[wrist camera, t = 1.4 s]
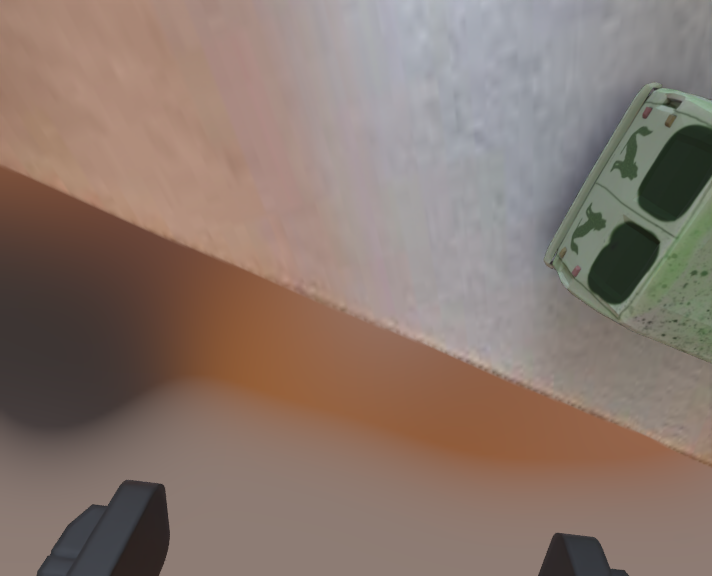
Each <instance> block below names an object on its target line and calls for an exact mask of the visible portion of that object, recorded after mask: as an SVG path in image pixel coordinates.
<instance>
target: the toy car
mask: <svg viewBox="0 0 712 576" xmlns="http://www.w3.org/2000/svg"><path fill="white" fill-rule="evenodd" d="M653 87H654V90H656V91H654V92H652V93H651V94H650V95H649V93H650V91H651V90H652V88H653ZM648 95H649V96H648ZM647 96H648V97H647ZM556 251H557V254H556V256H555V258H554V260H553V261H551V260H552V258H553V256H554V255H555V253H556ZM550 261H551V262H550ZM544 262H545V264H546V265H547V266H548V267H550V268H552V269H553V268H554V269H555V270H557V272H558V275H559V277H560V280H561V283H562V284H563V285H564V286H565V287H566V288H567V290H568V291H569V292H570V293H571V294H572V295H574V296H575V297H577V298H578V299H580V300H581V301H582V302H584V303H585V304H587V305H588V306H590V307H591V308H593V309H594V310H596V311H597V312H599V313H600V314H602V315H604V316H606V317H608V318H610V319H612V320H613V321H615V322H617V323H619V324H620V325H622V326H624V327H626V328H627V329H629V330H631V331H633V332H636V333H638V334H641V335H643V336H646V337H648V338H651V339H653V340H655V341H658V342H660V343H663V344H665V345H668V346H670V347H673V348H675V349H678V350H680V351H683V352H685V353H687V354H690V355H692V356H695V357H697V358H700V359H702V360H705V361H707V362H710V363H712V101H711V100H708V99H705V98H703V97H700V96H697V95H693V94H689V93H684V92H681V91H678V90H672V89H666V88H662V84H659V83H656V82H654V83H650V84H647V85H645V86H644V87H643V88H641V90H640V91H639V93H638V94H637V95H636V97H635V98H634V99H633V101H632V103H631V104H630V106H629V108H628V109H627V111H626V113H625V115H624V116H623V118H622V120H621V121H620V123H619V125H618V126H617V128H616V130H615V131H614V133H613V135H612V136H611V138H610V140H609V142H608V143H607V145H606V147H605V148H604V150H603V152H602V153H601V155H600V157H599V158H598V160H597V162H596V163H595V165H594V167H593V168H592V170H591V172H590V174H589V175H588V177H587V179H586V180H585V182H584V184H583V186H582V188H581V189H580V191H579V193H578V195H577V197H576V198H575V200H574V202H573V204H572V206H571V207H570V209H569V211H568V213H567V214H566V216H565V218H564V220H563V222H562V223H561V225H560V227H559V229H558V231H557V232H556V234H555V236H554V238H553V240H552V241H551V243H550V245H549V247H548V250H547V252H546V255H545V258H544Z"/></svg>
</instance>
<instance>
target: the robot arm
mask: <svg viewBox="0 0 712 576" xmlns="http://www.w3.org/2000/svg"><path fill="white" fill-rule="evenodd" d="M169 539H170V530H169V521H168V512H167V503H166V493H165V487H164V485H162V484H158V483H150V482H142V481H133V480H125V481H124V482H123V483H122V484H121V485H120V486H119V488H118V490H117V491H116V493H115V494H114V496H113V498H112V499H111V501H110V503H109V504H108V506H102V505H94V504H93V505H91V506H90V507H89V508H88V509H87V510H85V511H84V512H83V513H82V514H81V515H79V516H78V517H77V518H76V519H75V520H74V521H72V522H71V523H70V524H69V525H68V526H67V527H66V529H65V531H64V532H63V533H62V535H61V537H60V538H59V540H58V541H57V543H56V544H55V546H54V547H53V549H52V550H51V554H50V556H47V558H46V559H45V561H44V563H43V564H42V565H41V567H40V569H39V570H38V572H37V576H159V574H160V571H161V569H162V567H163V564H164V561H165V558H166V555H167V551H168V546H169ZM538 576H629V575H628V574H627V573H626V572H625V570H616V569H610V567H609V564H608V562H607V559H606V556H605V554H604V552H603V549H602V547H601V544H600V543H599V541H598V540H597V539H596V538H594V537H588V536H580V535H571V534H563V533H556V534H555V535H554V536H553V538H552V540H551V543H550V546H549V548H548V551H547V553H546V556H545V559H544V562H543V564H542V567H541V569H540V572H539V575H538Z"/></svg>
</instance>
